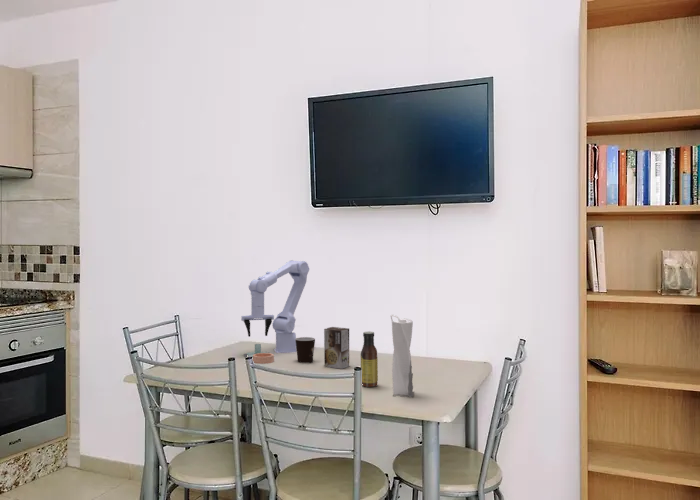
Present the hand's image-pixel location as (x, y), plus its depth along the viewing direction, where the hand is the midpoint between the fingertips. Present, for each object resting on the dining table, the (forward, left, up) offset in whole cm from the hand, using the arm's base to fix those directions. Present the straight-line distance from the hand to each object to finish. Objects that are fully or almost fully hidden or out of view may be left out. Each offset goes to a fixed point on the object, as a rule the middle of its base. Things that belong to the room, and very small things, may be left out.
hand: (257, 335), depth 265 cm
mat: (0, 0, -9) cm, 9 cm away
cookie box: (-30, +28, -10) cm, 42 cm away
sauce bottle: (-34, +61, -10) cm, 70 cm away
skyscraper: (-42, +74, -10) cm, 86 cm away
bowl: (-1, +12, -9) cm, 15 cm away
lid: (0, 0, -9) cm, 9 cm away
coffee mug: (-20, +15, -10) cm, 27 cm away
